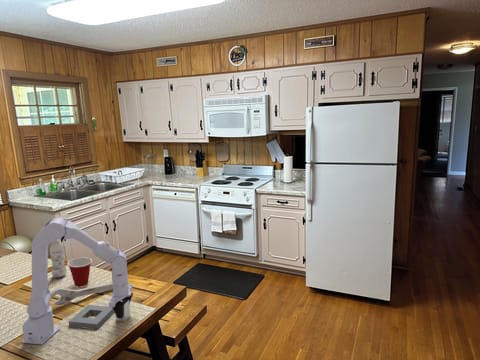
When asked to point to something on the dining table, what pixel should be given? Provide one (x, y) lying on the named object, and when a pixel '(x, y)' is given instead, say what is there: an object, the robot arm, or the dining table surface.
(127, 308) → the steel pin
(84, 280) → the plastic cup
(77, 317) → the socket block
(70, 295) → the wrench
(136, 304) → the dining table surface
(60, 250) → the plastic bottle
